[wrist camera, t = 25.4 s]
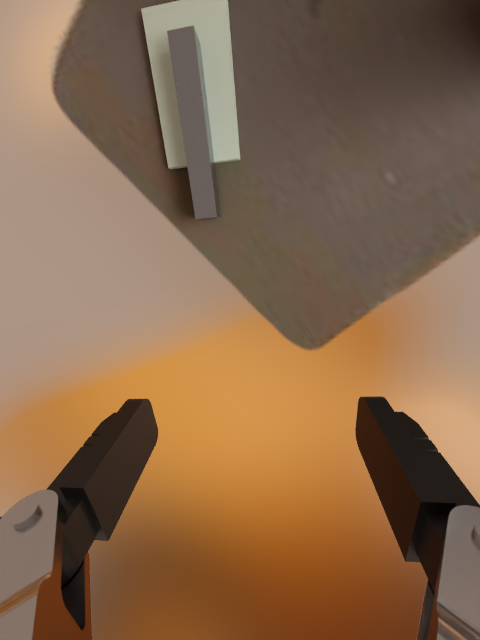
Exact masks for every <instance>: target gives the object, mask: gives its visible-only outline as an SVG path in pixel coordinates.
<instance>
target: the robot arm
mask: <svg viewBox="0 0 480 640" xmlns="http://www.w3.org/2000/svg"><path fill="white" fill-rule="evenodd" d="M157 438H158V428H157V424H156V420H155V417H154V413H153V409H152V406H151V403H150V401H149V400H148V399H128V400H127V401H126V402H125V403H124V404H123V406H122V407H121V408H120V409H119V411H118V412H117V413H113V414H112V415H111V416H109V417H108V418H106V419H105V420H104V421H103V422H101V424H100V425H99V426H98V427H97V428H96V430H95V431H94V432H93V433H92V436H91V437H89V438H88V439H87V441H86V442H85V443H84V446H83V447H81V448H80V449H79V450H78V452H77V453H76V454H75V455H74V457H73V458H72V459H71V460H70V461H69V463H68V464H67V465H66V466H65V468H64V469H63V470H62V471H61V473H60V474H59V475H58V476H57V477H56V479H55V480H54V481H53V482H52V484H51V485H50V486H49V487H48V488H47V489H46V490H41V491H38V492H35V493H33V494H31V495H29V496H27V497H25V498H23V499H22V500H20V501H19V502H18V503H16V504H15V505H14V506H13V507H11V508H10V509H9V510H8V511H7V512H6V513H5V514H4V515H3V516H2V517H0V640H93V637H92V623H91V621H92V620H91V587H90V558H89V553H88V550H89V548H90V546H91V545H92V543H93V541H94V540H105V541H108V540H109V539H110V537H111V534H112V533H113V530H114V528H115V526H116V524H117V522H118V520H119V518H120V516H121V514H122V512H123V510H124V508H125V506H126V504H127V502H128V500H129V498H130V496H131V494H132V492H133V490H134V488H135V485H136V484H137V481H138V480H139V477H140V475H141V473H142V471H143V469H144V467H145V465H146V463H147V461H148V459H149V457H150V455H151V453H152V451H153V449H154V447H155V445H156V442H157ZM356 440H357V444H358V447H359V450H360V452H361V455H362V457H363V459H364V462H365V465H366V467H367V469H368V472H369V474H370V477H371V479H372V482H373V484H374V486H375V489H376V491H377V493H378V496H379V499H380V501H381V503H382V506H383V508H384V511H385V513H386V516H387V518H388V520H389V523H390V525H391V528H392V530H393V532H394V535H395V537H396V540H397V542H398V544H399V547H400V549H401V552H402V554H403V557H404V559H405V561H409V562H421V564H422V566H423V569H424V571H425V573H426V575H427V577H428V579H427V583H426V588H425V594H424V600H423V606H422V612H421V617H420V623H419V629H418V635H417V640H480V505H479V504H478V503H477V501H476V500H475V498H474V497H473V496H472V495H471V493H470V492H469V490H468V489H467V488H466V487H465V485H464V484H463V483H462V481H461V480H460V479H459V477H458V476H457V475H456V473H455V472H454V471H453V469H452V468H451V467H450V465H449V464H448V463H447V461H446V460H445V459H444V457H443V456H442V455H441V453H438V449H437V448H436V447H435V445H434V444H433V443H432V441H431V440H429V439H428V436H427V435H426V434H425V432H424V431H423V430H422V428H421V427H420V426H419V424H418V423H417V422H415V421H414V420H413V419H411V418H410V417H408V416H407V415H406V414H405V413H403V412H394V410H393V409H392V407H391V406H390V405H389V403H388V402H387V400H386V399H385V398H384V397H360V398H359V401H358V411H357V420H356Z"/></svg>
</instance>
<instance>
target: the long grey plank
mask: <svg viewBox="0 0 480 640" xmlns="http://www.w3.org/2000/svg"><path fill="white" fill-rule="evenodd" d="M167 35H168V42H169V48H170V55H171V62H172V68H173V75H174V81H175V88H176V95H177V101H178V108H179V114H180V121H181V128H182V134H183V141H184V147H185V154H186V161H187V167H188V174H189V180H190V187H191V193H192V200H193V207H194V213H195V219H209V218H218V217H221V216H220V207H219V199H218V190H217V181H216V173H215V164H214V156H213V147H212V139H211V130H210V122H209V113H208V104H207V96H206V87H205V79H204V70H203V62H202V53H201V45H200V41H199V39H198V36H197V33H196V30H195V28H194V25H192V26H188V27H183V28H178V29H173V30H169V31H167Z"/></svg>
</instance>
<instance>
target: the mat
mask: <svg viewBox="0 0 480 640" xmlns="http://www.w3.org/2000/svg"><path fill="white" fill-rule="evenodd" d="M141 11H142V17H143V22H144V28H145V34H146V40H147V46H148V52H149V57H150V63H151V69H152V75H153V81H154V87H155V93H156V98H157V104H158V110H159V116H160V122H161V128H162V133H163V139H164V145H165V151H166V157H167V163H168V168H169V169H178V168H186V167H187V161H186V154H185V147H184V141H183V134H182V128H181V121H180V114H179V108H178V101H177V95H176V88H175V81H174V75H173V68H172V62H171V55H170V48H169V42H168V35H167V31H169V30H173V29H178V28H183V27H188V26H192V25H194V28H195V30H196V33H197V36H198V39H199V41H200V45H201V53H202V62H203V70H204V79H205V87H206V96H207V104H208V113H209V122H210V130H211V139H212V147H213V156H214V164H216V163H224V162H232V161H239V160H240V149H239V136H238V123H237V111H236V98H235V85H234V72H233V60H232V47H231V34H230V22H229V9H228V0H179V1H174V2H170V3H165V4H160V5H156V6H151V7H147V8H142V9H141Z"/></svg>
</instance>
